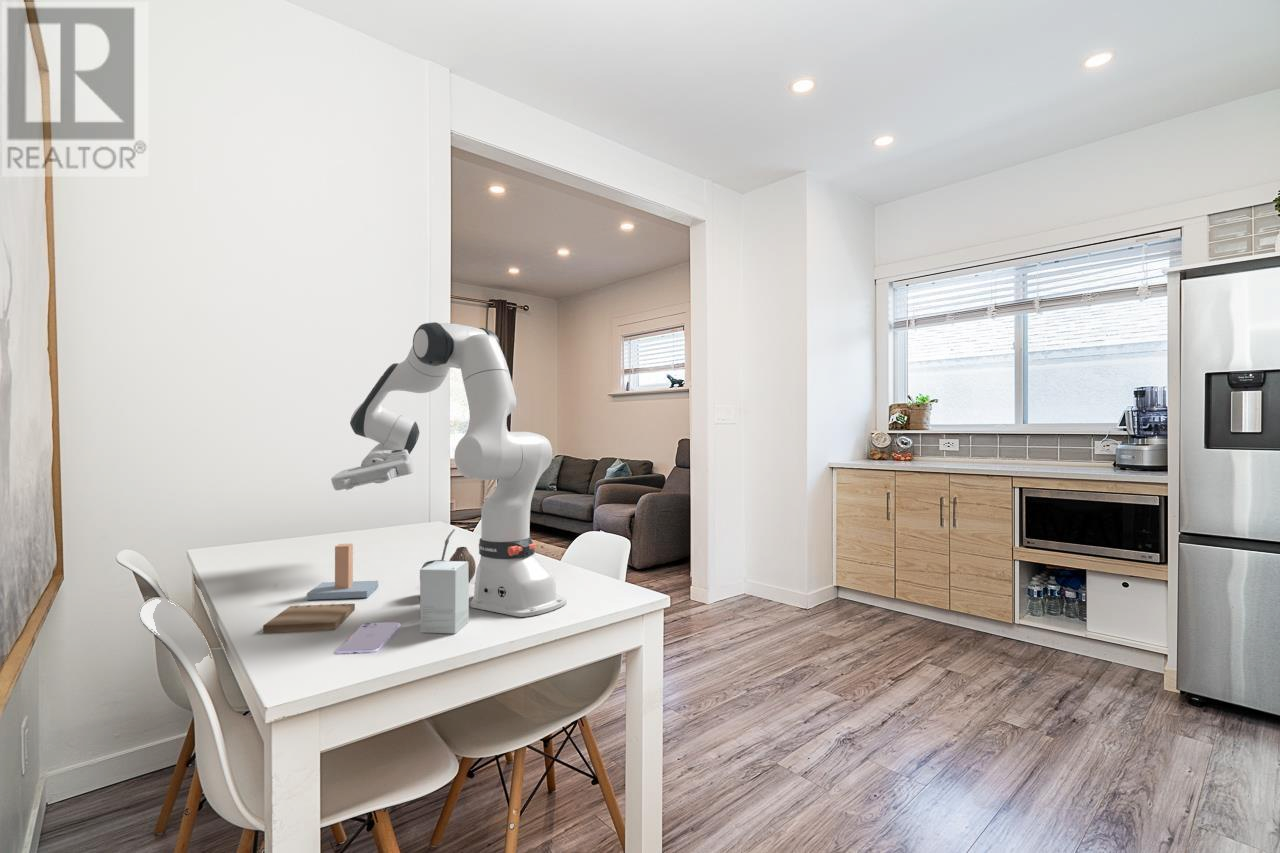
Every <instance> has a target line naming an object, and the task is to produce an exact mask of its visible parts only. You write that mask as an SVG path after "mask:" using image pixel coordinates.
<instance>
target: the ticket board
mask: <svg viewBox="0 0 1280 853" xmlns="http://www.w3.org/2000/svg"><path fill="white" fill-rule="evenodd" d="M355 606H356V604H355V603H339V604H338V603H337V604H336V603H332V604H322V603H321V604H308V605H304V604H303V605H299V604H298V605H297V604H296V605H290V606H289V607H287V608H286V609H284V610H283V611H281V612H280V613H279V614H277V615H276V616H274V617H272V619H270V620H269V621H268V622H266V623H264V624H263V625H262V626H263V628H262V630H263V631H262V632H263V634H270V633H271V634H273V633H276V634H277V633H291V632H293V633H294V632H317V631H319V632H320V631H335V630H336V629H337V628H339V627H340V625H341V624H342V623H343V622H344V621H346V619H348V618H349V617H350V616H351V615H352V614H351V613H352V612H353V611H354V610H355V609H356V607H355ZM355 611H356V610H355ZM355 611H354V612H355ZM354 612H353V613H354ZM350 614H351V615H350ZM349 615H350V616H349ZM348 616H349V617H348Z"/></svg>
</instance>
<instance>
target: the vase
mask: <svg viewBox="0 0 1280 853" xmlns="http://www.w3.org/2000/svg"><path fill="white" fill-rule="evenodd" d="M448 561H468V575H469V582H470V581H472V579H473V578H474V577H475V575H476V570H477V568H476V560H475V558H474V557H473V555H472V554H471V552H470V551H469V549H468V547H466V546H459V547H457V548H456V549H455V551H454V553H452V555H451V557H450V558H449V560H448Z"/></svg>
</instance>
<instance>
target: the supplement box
mask: <svg viewBox="0 0 1280 853" xmlns="http://www.w3.org/2000/svg"><path fill="white" fill-rule="evenodd" d="M421 568H422V567H421ZM421 568H420V569H419V588H420V589H419V595H420V596H419V598H420V599H419V602H420V604H419V605H420V606H419V608H420V611H419V612H420V614H419V616H420V617H419V619H420V624H419V626H420V634H421V633H422V634H423V633H429V634H456V633H458V632H459V631H460V630H462V628H464V626H466V625H467V624H468V623H469V622H470V615H469V614H470V604H469V601H470V598H469V595H470V594H469V592H470V591H469V584H470V583H469V582H470V581H469V575H468V561H449V560H444V561H434V562H433V563H431V564H429V565H427V566H425V567H424V568H422V569H421ZM466 623H467V624H466ZM465 624H466V625H465Z"/></svg>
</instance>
